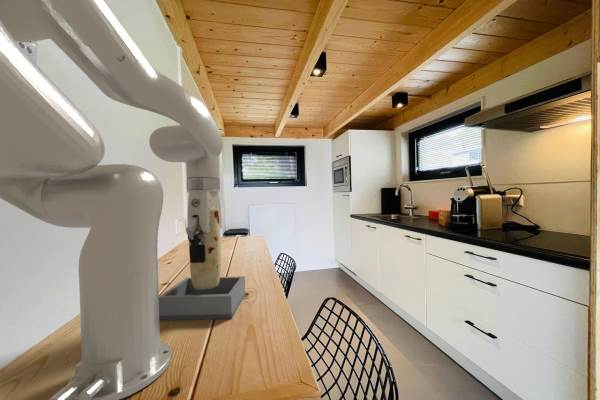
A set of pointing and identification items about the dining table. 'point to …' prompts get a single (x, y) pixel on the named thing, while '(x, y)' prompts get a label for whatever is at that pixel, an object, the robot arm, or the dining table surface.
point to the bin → (202, 300)
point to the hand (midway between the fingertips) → (205, 257)
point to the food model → (208, 256)
